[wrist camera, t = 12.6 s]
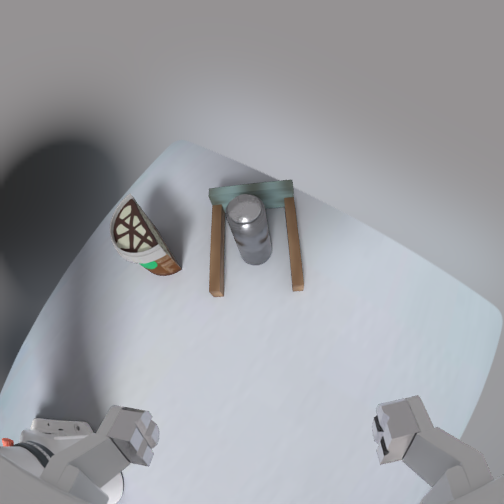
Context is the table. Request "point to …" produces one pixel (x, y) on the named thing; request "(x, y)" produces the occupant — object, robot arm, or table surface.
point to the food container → (140, 239)
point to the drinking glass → (250, 228)
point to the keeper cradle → (272, 197)
